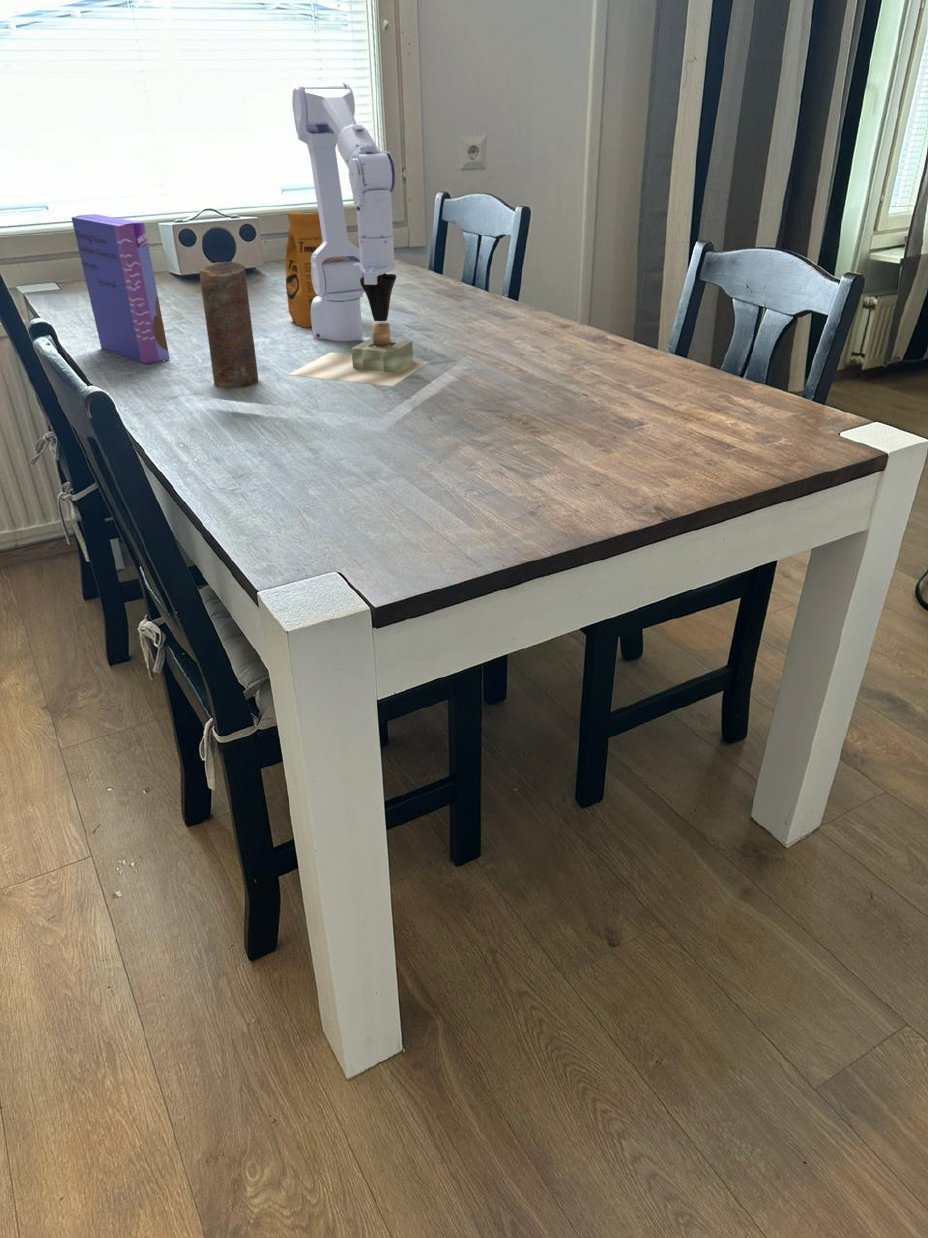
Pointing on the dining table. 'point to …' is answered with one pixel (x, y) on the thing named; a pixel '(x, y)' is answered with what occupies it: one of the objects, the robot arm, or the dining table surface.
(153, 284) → the cereal box
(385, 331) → the peg
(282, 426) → the dining table surface
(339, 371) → the board
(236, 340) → the brown faceted post
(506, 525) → the dining table surface
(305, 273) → the coffee package
